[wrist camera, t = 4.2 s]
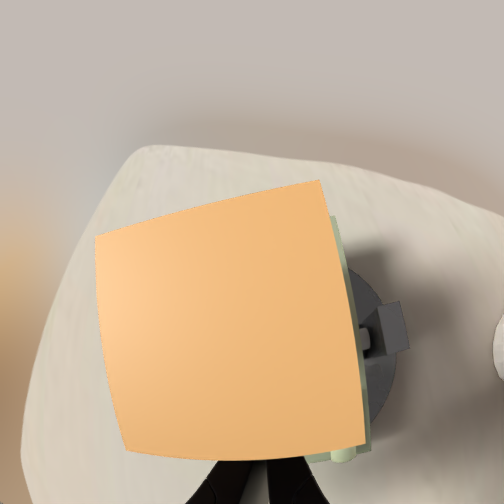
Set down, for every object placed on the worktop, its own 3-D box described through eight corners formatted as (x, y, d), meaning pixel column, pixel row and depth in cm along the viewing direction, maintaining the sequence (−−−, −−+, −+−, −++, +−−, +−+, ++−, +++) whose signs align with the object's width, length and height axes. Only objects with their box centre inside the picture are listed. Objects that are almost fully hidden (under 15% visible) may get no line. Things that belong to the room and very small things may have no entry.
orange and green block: (374, 440, 13) (436, 560, 2) (218, 459, 14) (132, 569, 3) (340, 220, 16) (385, 80, 5) (182, 253, 17) (46, 179, 7)
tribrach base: (403, 433, 14) (438, 456, 8) (196, 460, 16) (152, 486, 10) (364, 240, 20) (379, 192, 14) (180, 277, 22) (138, 243, 17)
